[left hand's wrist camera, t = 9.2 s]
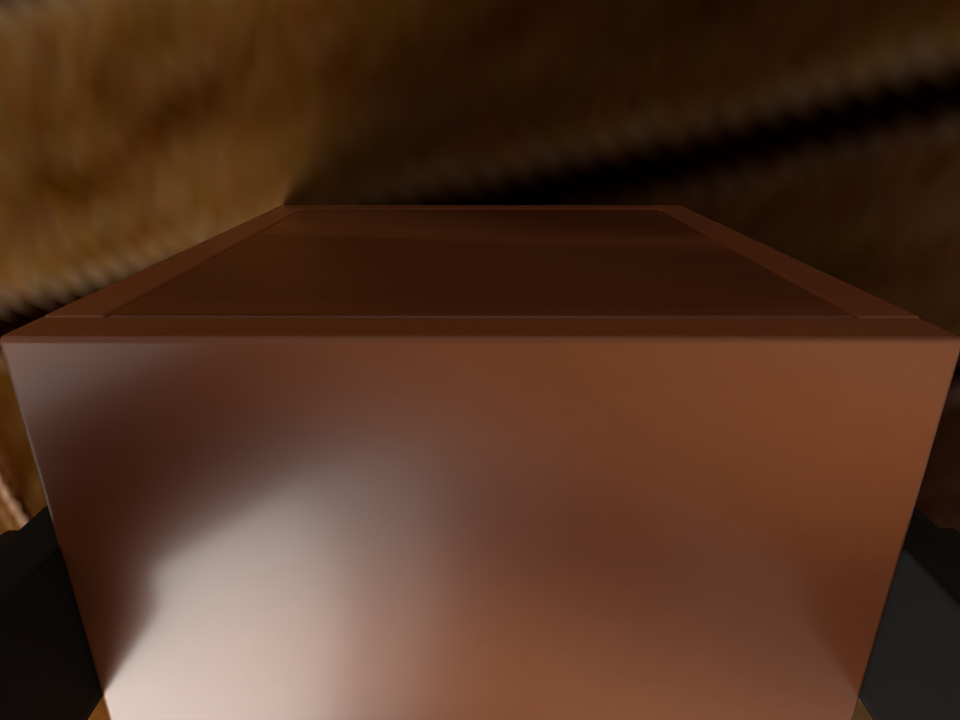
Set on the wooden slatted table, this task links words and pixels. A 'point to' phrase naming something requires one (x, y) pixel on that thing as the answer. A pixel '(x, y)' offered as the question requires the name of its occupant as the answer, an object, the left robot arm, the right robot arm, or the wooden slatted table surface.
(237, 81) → the wooden slatted table surface
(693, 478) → the cabinet
